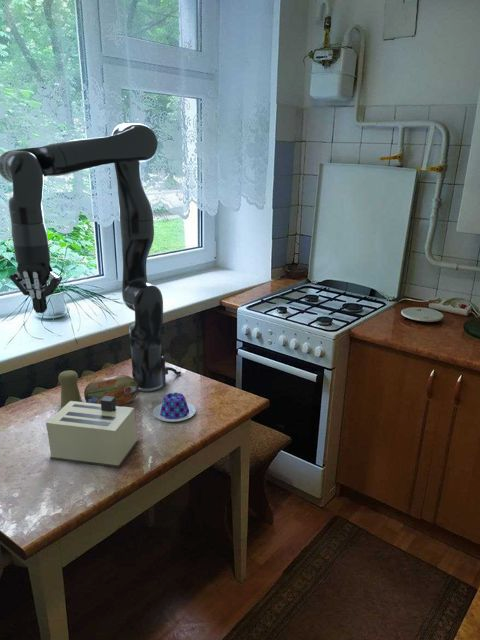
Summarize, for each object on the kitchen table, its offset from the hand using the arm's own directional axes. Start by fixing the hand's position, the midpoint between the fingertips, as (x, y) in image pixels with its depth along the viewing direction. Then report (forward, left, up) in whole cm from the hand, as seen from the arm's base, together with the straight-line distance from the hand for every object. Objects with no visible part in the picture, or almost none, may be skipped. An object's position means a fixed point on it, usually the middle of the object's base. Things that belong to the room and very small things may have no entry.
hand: (40, 312), depth 123 cm
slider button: (-7, +20, -21) cm, 30 cm away
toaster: (-3, +20, -31) cm, 37 cm away
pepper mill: (-6, -5, -31) cm, 32 cm away
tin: (-16, 0, -31) cm, 35 cm away
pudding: (-28, +15, -31) cm, 45 cm away
